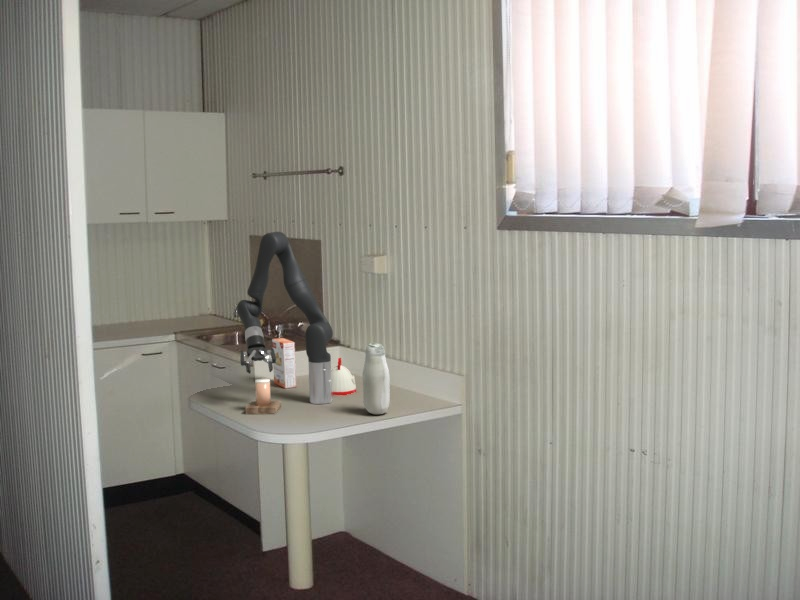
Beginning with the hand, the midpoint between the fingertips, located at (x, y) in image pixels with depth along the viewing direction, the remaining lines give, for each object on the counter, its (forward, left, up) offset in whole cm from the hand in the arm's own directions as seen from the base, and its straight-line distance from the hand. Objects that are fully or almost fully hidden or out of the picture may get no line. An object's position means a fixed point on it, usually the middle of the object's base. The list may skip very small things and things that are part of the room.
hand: (260, 371), depth 374 cm
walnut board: (-2, +6, -15) cm, 16 cm away
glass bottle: (-48, +12, -15) cm, 52 cm away
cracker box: (-2, -44, -15) cm, 46 cm away
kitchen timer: (-29, -29, -15) cm, 43 cm away
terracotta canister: (-2, +5, -12) cm, 14 cm away
